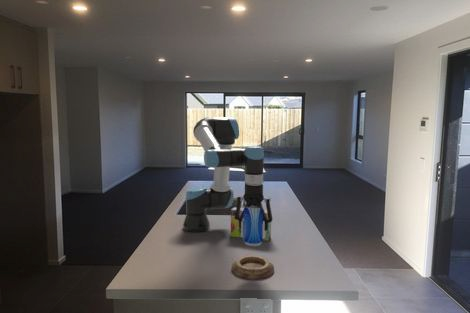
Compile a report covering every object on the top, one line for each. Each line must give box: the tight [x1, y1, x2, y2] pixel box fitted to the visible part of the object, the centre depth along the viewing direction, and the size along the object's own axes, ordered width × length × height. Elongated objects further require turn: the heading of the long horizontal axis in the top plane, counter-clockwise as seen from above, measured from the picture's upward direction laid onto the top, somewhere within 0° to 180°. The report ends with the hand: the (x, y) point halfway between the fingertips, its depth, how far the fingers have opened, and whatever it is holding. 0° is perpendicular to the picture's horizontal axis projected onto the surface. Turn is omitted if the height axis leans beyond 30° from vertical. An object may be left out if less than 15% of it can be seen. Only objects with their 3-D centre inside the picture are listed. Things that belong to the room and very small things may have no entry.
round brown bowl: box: [231, 254, 275, 281], centre depth 150 cm, size 18×18×3 cm
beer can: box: [242, 206, 264, 247], centre depth 147 cm, size 8×8×16 cm
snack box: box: [230, 207, 272, 242], centre depth 187 cm, size 21×6×15 cm, turn 71°
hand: (253, 236), depth 148 cm, fingers closed on beer can, 8 cm apart
